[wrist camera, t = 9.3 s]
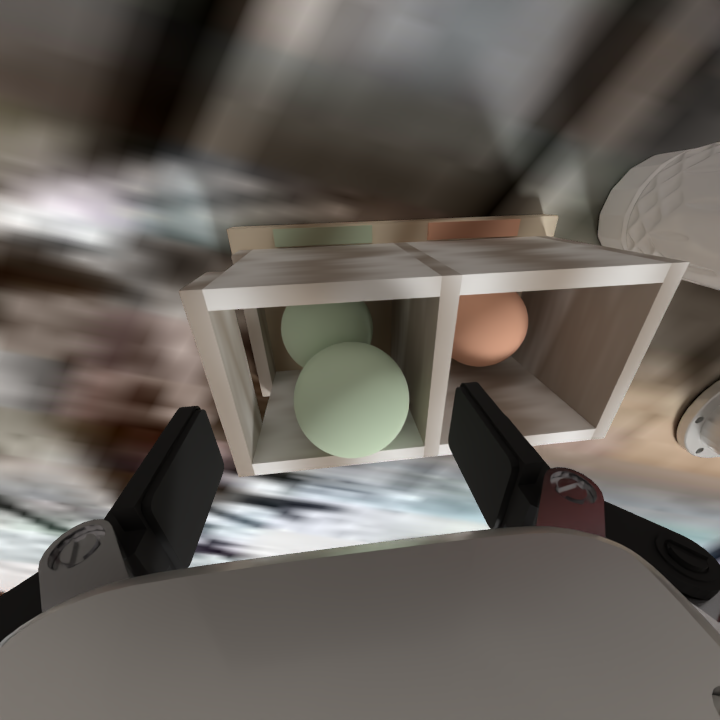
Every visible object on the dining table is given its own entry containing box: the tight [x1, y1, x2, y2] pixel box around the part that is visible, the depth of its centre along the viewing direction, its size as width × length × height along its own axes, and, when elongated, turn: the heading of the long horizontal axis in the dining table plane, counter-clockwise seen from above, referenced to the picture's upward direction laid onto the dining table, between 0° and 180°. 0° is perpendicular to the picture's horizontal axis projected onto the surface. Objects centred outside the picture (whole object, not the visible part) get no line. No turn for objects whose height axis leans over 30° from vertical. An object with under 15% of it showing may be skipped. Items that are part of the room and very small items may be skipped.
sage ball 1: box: [281, 301, 373, 368], centre depth 19 cm, size 6×6×6 cm
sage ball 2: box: [294, 342, 409, 458], centre depth 15 cm, size 6×6×6 cm
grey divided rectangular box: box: [179, 214, 690, 477], centre depth 18 cm, size 21×12×10 cm, turn 92°
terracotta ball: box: [451, 292, 528, 367], centre depth 20 cm, size 6×6×6 cm
